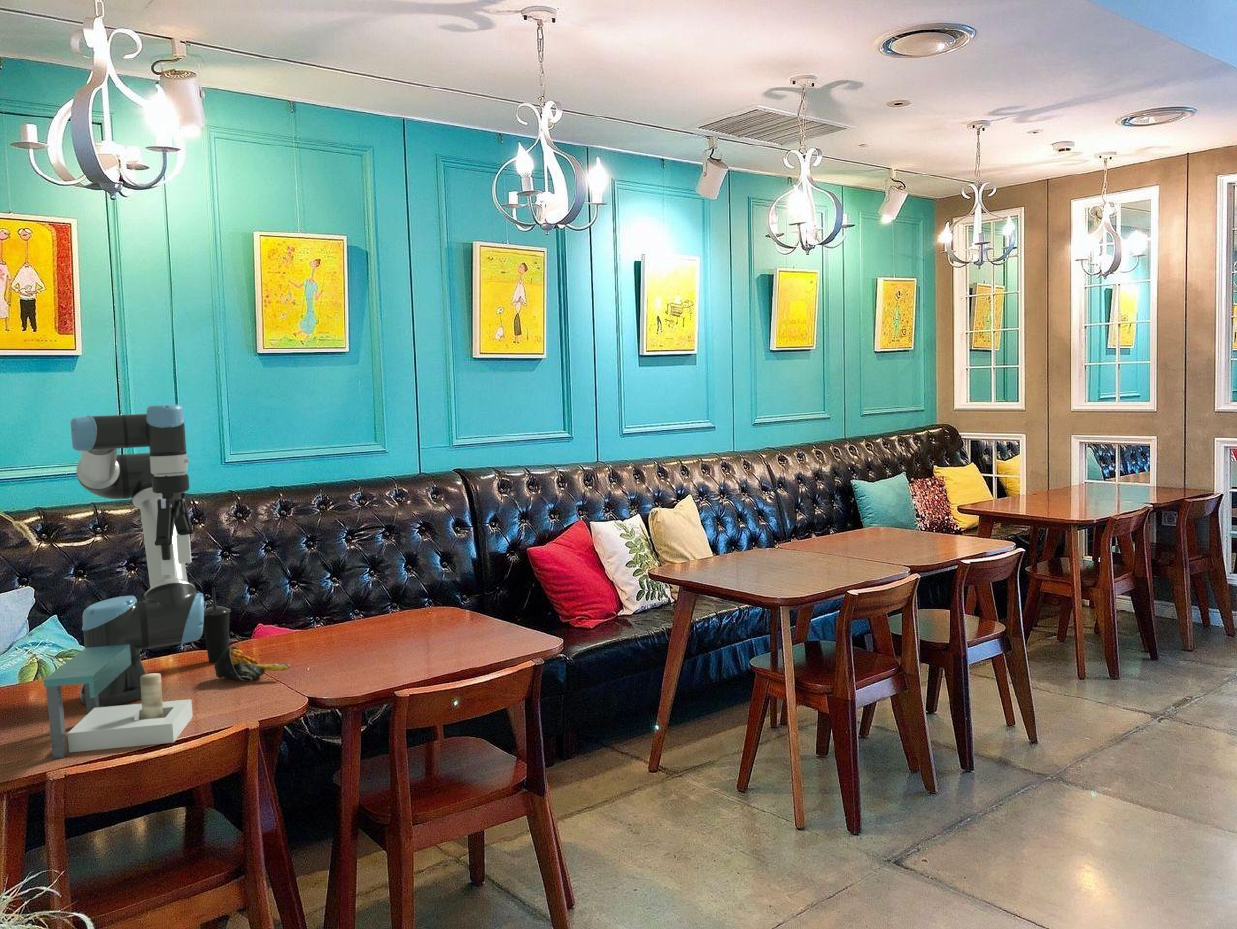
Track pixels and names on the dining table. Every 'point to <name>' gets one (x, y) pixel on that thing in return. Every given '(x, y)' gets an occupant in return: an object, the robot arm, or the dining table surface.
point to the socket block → (129, 726)
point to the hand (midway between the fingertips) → (177, 568)
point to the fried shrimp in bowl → (242, 666)
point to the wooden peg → (151, 696)
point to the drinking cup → (216, 630)
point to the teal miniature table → (88, 669)
